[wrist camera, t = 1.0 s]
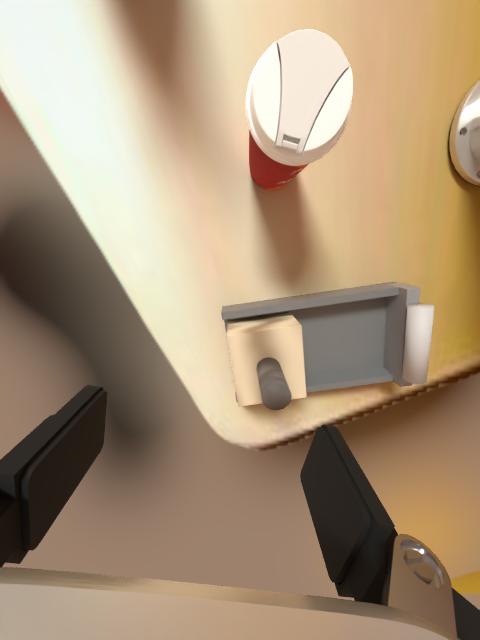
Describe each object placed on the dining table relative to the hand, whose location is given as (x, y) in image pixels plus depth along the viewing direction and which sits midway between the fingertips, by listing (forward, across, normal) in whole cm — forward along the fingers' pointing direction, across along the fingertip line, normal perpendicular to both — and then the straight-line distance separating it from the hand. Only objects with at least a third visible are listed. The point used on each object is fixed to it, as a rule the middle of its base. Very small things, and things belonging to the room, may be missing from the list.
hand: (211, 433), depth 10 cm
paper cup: (+25, -2, -19) cm, 31 cm away
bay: (+25, -14, +2) cm, 28 cm away
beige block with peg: (+24, -7, +5) cm, 25 cm away
